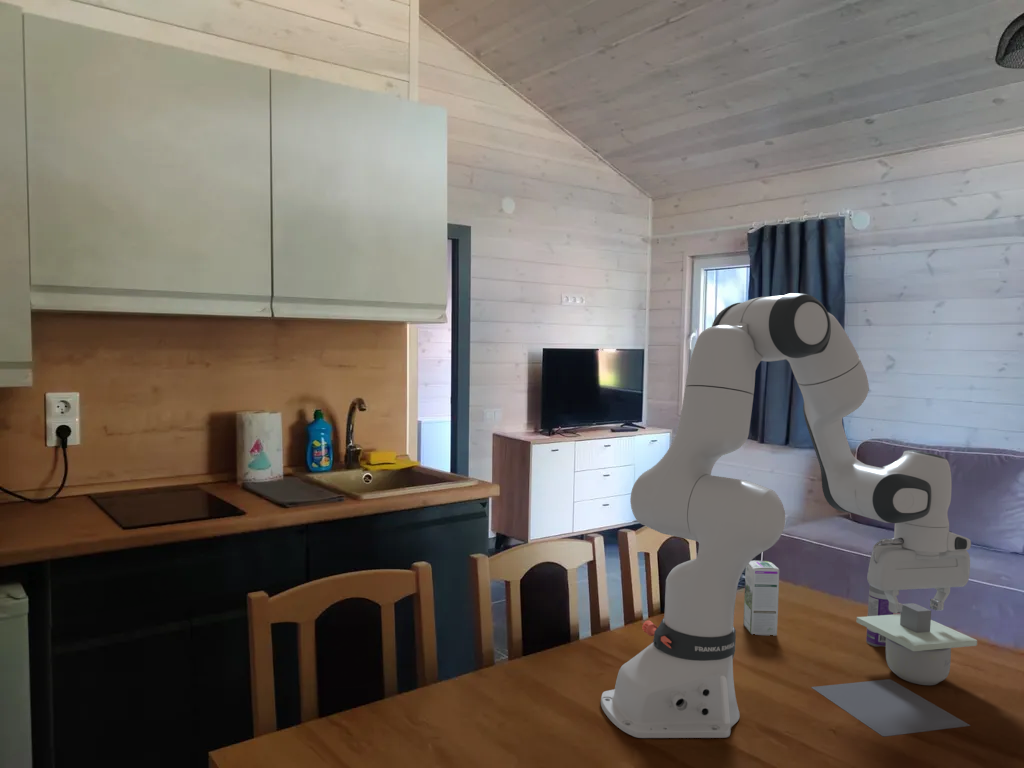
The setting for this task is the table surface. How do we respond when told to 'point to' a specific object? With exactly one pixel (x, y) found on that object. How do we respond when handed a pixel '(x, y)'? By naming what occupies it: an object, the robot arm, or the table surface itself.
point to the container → (877, 614)
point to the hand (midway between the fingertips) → (916, 610)
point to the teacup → (918, 663)
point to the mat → (889, 707)
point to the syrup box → (761, 598)
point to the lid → (916, 629)
